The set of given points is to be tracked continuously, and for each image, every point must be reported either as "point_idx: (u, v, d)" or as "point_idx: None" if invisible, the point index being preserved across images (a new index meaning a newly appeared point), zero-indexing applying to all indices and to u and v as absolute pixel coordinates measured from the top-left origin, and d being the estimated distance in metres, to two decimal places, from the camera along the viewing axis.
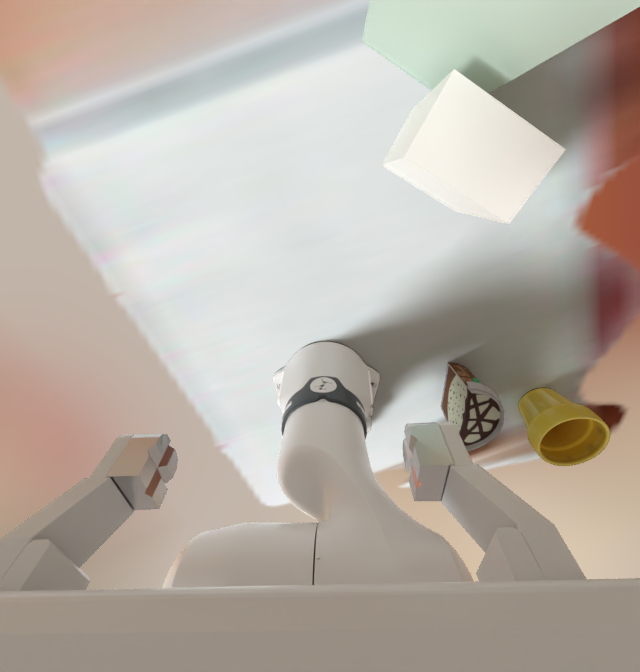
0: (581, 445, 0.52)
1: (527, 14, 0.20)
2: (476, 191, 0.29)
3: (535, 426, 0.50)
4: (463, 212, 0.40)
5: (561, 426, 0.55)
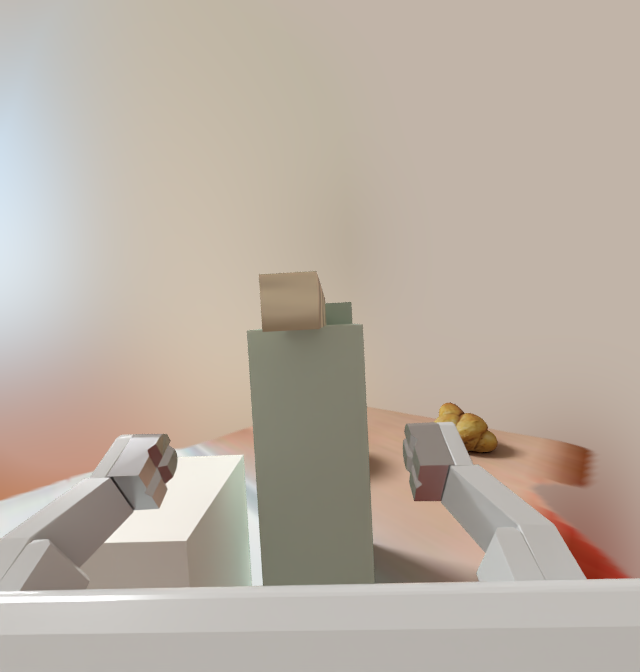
0: None
1: None
2: None
3: None
4: None
5: None
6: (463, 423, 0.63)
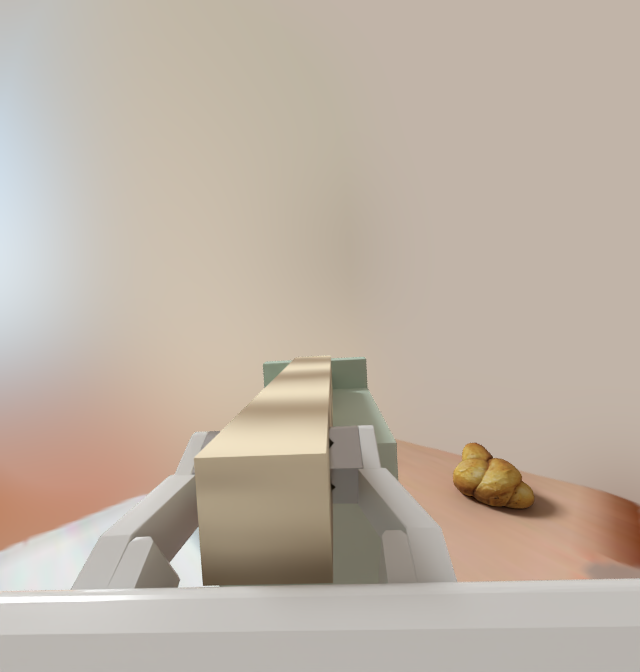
0: None
1: None
2: None
3: None
4: None
5: None
6: (493, 474, 0.53)
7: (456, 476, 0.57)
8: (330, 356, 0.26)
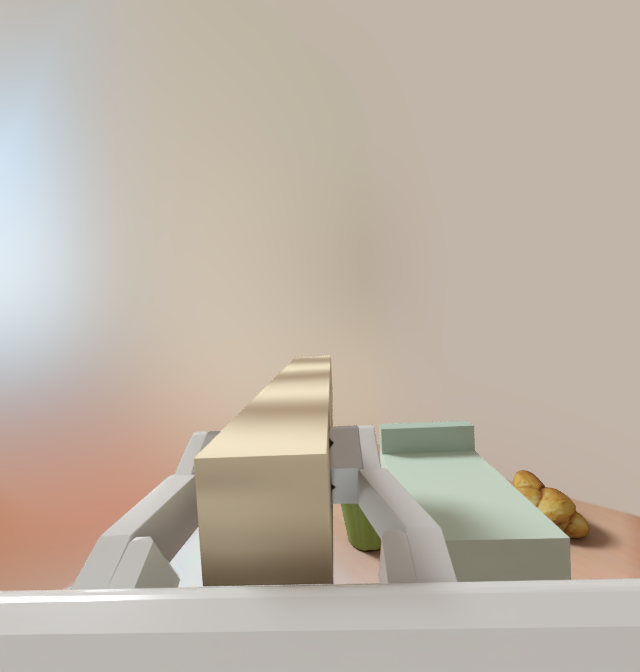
0: None
1: None
2: None
3: None
4: None
5: None
6: (548, 504, 0.57)
7: None
8: (330, 356, 0.26)
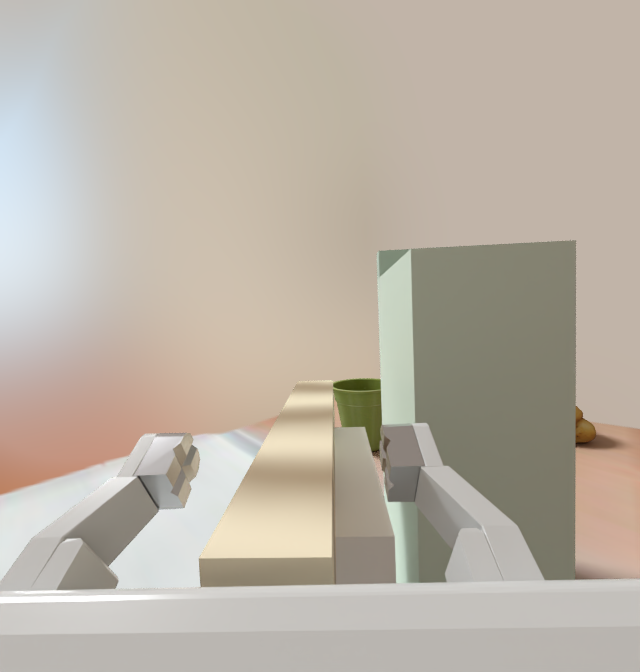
0: None
1: (401, 362, 0.22)
2: None
3: None
4: None
5: None
6: None
7: None
8: (332, 382, 0.26)
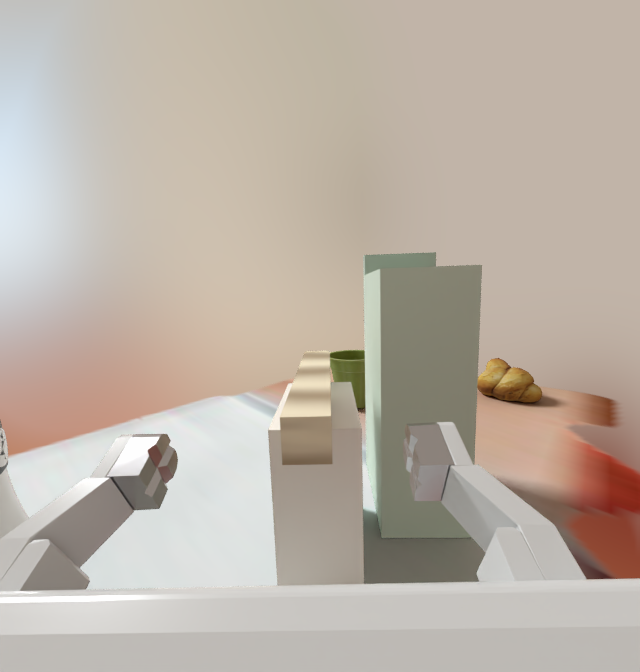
0: None
1: (375, 339, 0.33)
2: None
3: None
4: None
5: None
6: (510, 376, 0.68)
7: (479, 380, 0.72)
8: (329, 352, 0.37)
